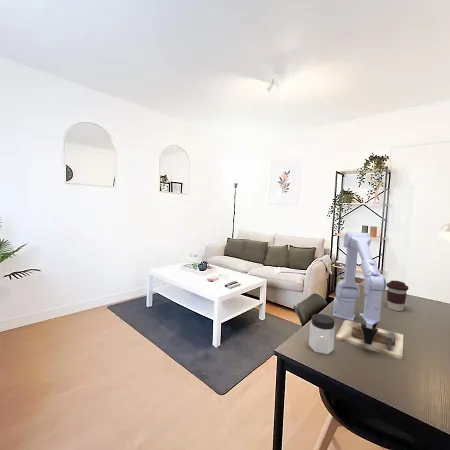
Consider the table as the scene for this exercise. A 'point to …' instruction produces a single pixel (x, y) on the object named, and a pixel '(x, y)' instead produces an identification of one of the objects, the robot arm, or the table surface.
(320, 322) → the jar
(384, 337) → the brown long round-headed piece
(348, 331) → the plate
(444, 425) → the table surface
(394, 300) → the coffee cup
